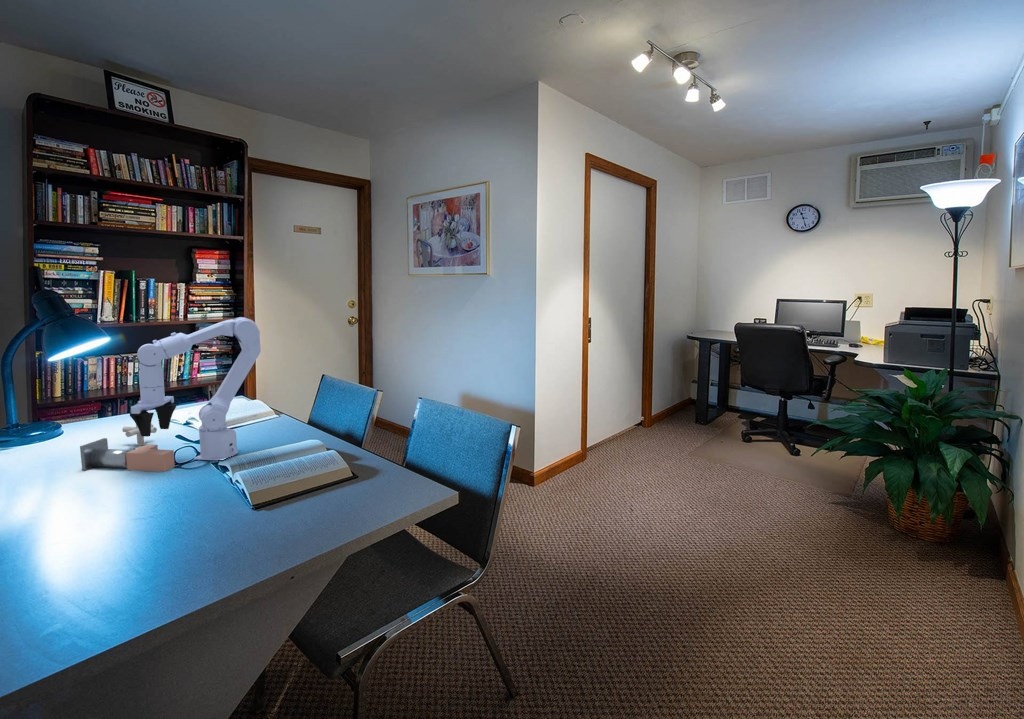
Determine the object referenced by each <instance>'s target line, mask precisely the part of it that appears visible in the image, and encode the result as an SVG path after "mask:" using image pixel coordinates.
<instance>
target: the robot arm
mask: <svg viewBox="0 0 1024 719" xmlns="http://www.w3.org/2000/svg"><path fill="white" fill-rule="evenodd" d="M260 335H261V331H260V330H259V327H258V325H257V323H256V322H255V321H253V319H250V318H247V317H244V316H239V317H235V318H233V319H232V318H231V319H226V320H223V321H220V322H217V323H214V324H212V325H209V326H207V327H204V328H202V329H199V330H197V331H194V332H192V333H189V334H186V333H183V332H179V333H178V332H177V333H176V332H175V331H174V332H172V333H170V336H167V337H164V338H161V339H159V340H157V339H154V340H152V343H146V344H143V345H141V346H140V347H139V348H138V350H137V353H136V356H137V360H138V361H139V363H138V368H139V370H138V379H139V380H138V381H139V391H140V393H139V394H140V400H138V401H137V403H136V404H134V405H132V406H130V412H129V417H130V418H131V419H132V420H133V422H134V423H135V426H136V425H137V426H138V429H139V431H140V434H141V436H144V437H150V436H151V434H152V433H151V424H152V420H153V416H154V412H149V410H151V409H154V410H155V412H156V414H157V418H158V425H159V428H160V430H169V428H170V425H171V419H172V417H173V413H174V412H175V410H176V408H177V404H176V403H175V398H174V396H173V395H172V396H171V395H166V394H165V381H164V380H165V379H164V370H163V368H162V361H163V360H169V359H171V358H174V357H177V356H179V355H181V354H185V353H187V352H190V351H191V350H192V347H193V345H196V344H198V343H201V342H202V343H203V342H204V341H207V340H211V339H213V338H217V337H219V336H225V337H226V336H227V337H234V336H235V338H236V339H237V341H238V343H239V346H240V348H241V351H240V353H239V354H238V355H237V358H236V359H235V360H234V363H233V364H232V366H231V367H230V369H229V371H228V372H227V374H226V375H225V377H224V379H223V381H222V382H221V384H220V385H219V387H218V389H217V391H216V393H215V394H214V395H213V396H212V397H211V398H210V399H209V400H208V402H207V403H206V404H205V405H203V406H201V408H200V409H199V412H198V417H199V420H200V421H201V425H200V426H199V427H198V432H199V433H198V435H199V449H200V450H199V451H200V453H199V455H197V456H195V457H194V458H193V460H196V461H197V460H199V461H218V460H220V459H224V458H228V457H230V458H231V456H232V457H233V456H235V455H237V454H239V453H240V452H239V450H238V445H237V443H238V442H237V440H238V439H237V433H236V431H235V429H232V428H228V426H227V425H226V420H227V414H228V413H229V410H230V406H231V402H232V401H233V399H234V398H235V396H236V394H237V392H238V391H239V389H240V388H241V386H242V384H243V383H244V381H245V379H246V378H247V377H248V374H249V373H250V371H251V369H252V367H253V365H254V364H255V362H256V361H257V359H258V357H259V356H260V354H261V338H260V337H261V336H260ZM165 395H166V396H165ZM228 459H229V458H228Z"/></svg>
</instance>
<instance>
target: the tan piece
mask: <svg viewBox="0 0 1024 719" xmlns="http://www.w3.org/2000/svg"><path fill="white" fill-rule="evenodd" d="M158 448H159V447H158V445H156V444H144V445H142V446H139V447H137V448H135V449H131V450H132V451H130V452H127V453H126V459H127V468H126V469H127V471H140V472H141V471H142V472H143V471H144V472H167V471H169V470H171V469H173V468H175V467H176V465H175V464H176V463H175V451H174V449H158Z"/></svg>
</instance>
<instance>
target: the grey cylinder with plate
mask: <svg viewBox="0 0 1024 719" xmlns="http://www.w3.org/2000/svg"><path fill="white" fill-rule="evenodd" d="M79 450H80V459H81V460H80V462H81V471H84V472H85V471H88V470H90V469H93V468H95V467H98V468H99V467H100V468H101V467H103V468H124V469H125V468H126V469H127V459H126V453H127V452H130V451H132V450H133V449H116V448H113V449H112V448H109V443H108V437H106V438H105V437H102V438H101V439H97V440H94V441H92V442H89V443H86V444H82V445H80V446H79Z"/></svg>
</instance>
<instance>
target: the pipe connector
mask: <svg viewBox="0 0 1024 719" xmlns="http://www.w3.org/2000/svg"><path fill="white" fill-rule="evenodd" d="M121 429H122V432H123V433H125V437H127V438H129V437H130V438H131V437H133V436H136V440H137V446H138V447H142V446H145V436H141V434H140V431H139V429H138V426H137V425H136V424H135V426H123V427H122V428H121ZM157 431H158V429H157V427H155V426H154V424H153V423H151V434H156V432H157Z"/></svg>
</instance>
